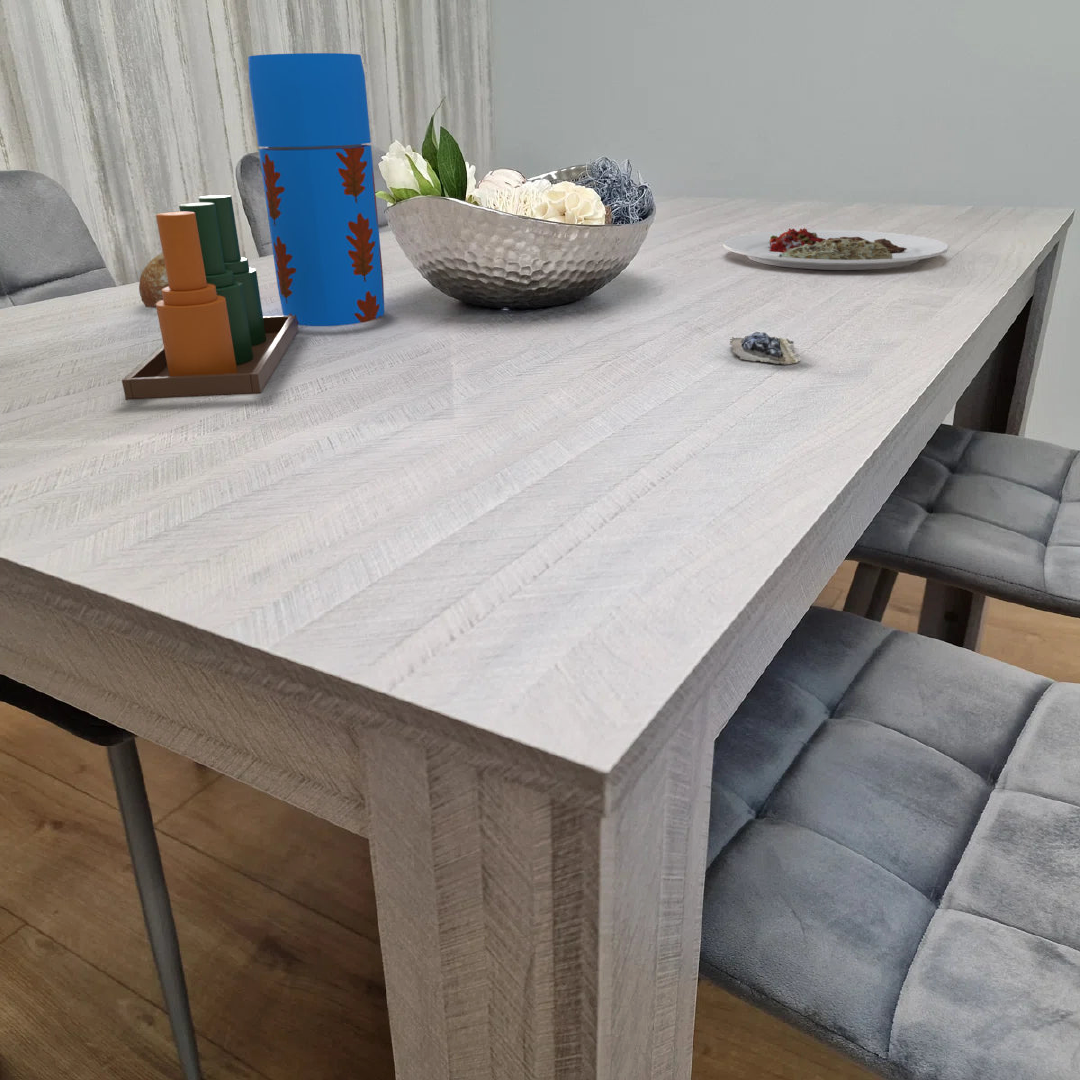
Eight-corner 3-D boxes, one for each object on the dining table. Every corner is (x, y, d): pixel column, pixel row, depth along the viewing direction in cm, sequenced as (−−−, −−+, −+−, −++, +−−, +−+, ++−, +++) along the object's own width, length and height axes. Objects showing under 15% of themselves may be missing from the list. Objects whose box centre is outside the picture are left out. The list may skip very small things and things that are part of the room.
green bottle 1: (185, 369, 80) (155, 208, 74) (199, 354, 85) (172, 202, 79) (247, 366, 80) (222, 206, 75) (258, 351, 85) (235, 200, 79)
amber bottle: (163, 392, 74) (129, 218, 68) (180, 374, 78) (149, 210, 73) (231, 389, 74) (203, 216, 68) (243, 371, 79) (217, 208, 73)
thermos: (263, 321, 100) (225, 58, 89) (347, 306, 106) (321, 59, 96) (321, 336, 93) (286, 52, 82) (407, 318, 99) (385, 54, 89)
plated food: (924, 281, 113) (928, 252, 111) (690, 266, 127) (692, 240, 125) (961, 248, 136) (965, 224, 135) (760, 238, 150) (762, 216, 149)
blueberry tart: (778, 340, 87) (780, 320, 87) (826, 360, 80) (829, 338, 80) (712, 347, 86) (714, 326, 85) (756, 368, 79) (758, 346, 78)
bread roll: (174, 326, 115) (132, 267, 112) (246, 286, 115) (207, 225, 111) (159, 344, 106) (114, 281, 103) (237, 301, 106) (194, 236, 102)
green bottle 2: (203, 349, 86) (177, 200, 81) (215, 337, 91) (191, 194, 85) (261, 347, 87) (239, 198, 81) (270, 334, 91) (250, 193, 86)
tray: (127, 406, 72) (121, 380, 71) (194, 340, 92) (190, 319, 91) (261, 400, 73) (257, 374, 72) (299, 336, 93) (296, 315, 92)
